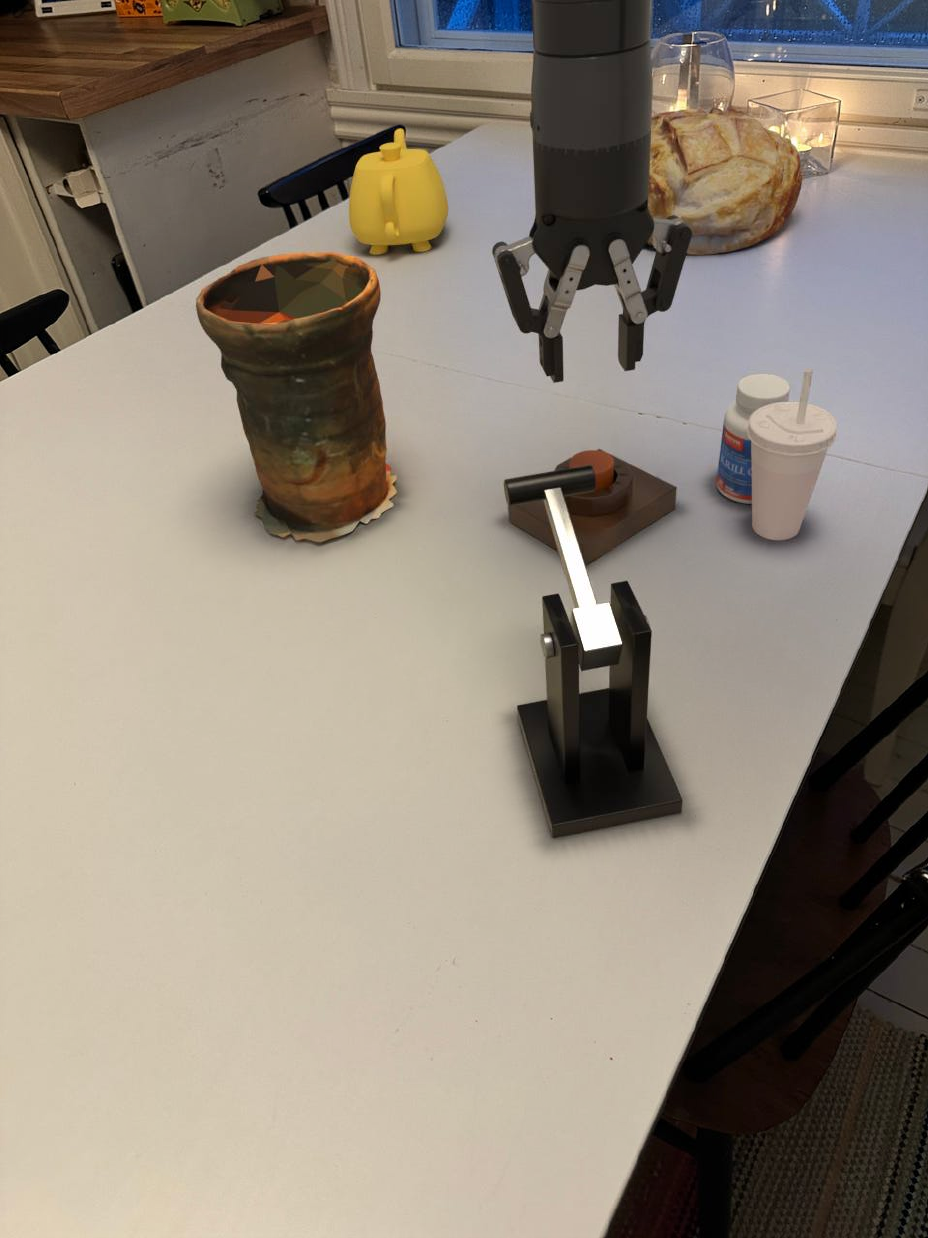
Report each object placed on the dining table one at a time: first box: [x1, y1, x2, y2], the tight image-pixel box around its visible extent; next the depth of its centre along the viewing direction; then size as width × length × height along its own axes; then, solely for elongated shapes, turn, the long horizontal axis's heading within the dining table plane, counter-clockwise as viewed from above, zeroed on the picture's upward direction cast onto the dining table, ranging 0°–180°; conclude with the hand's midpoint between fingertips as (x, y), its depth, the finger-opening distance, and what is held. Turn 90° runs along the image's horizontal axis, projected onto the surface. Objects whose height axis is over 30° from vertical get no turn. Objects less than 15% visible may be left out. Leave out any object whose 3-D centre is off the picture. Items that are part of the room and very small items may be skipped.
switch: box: [503, 465, 623, 672], centre depth 55 cm, size 13×6×2 cm, turn 10°
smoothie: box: [747, 368, 838, 541], centre depth 71 cm, size 6×6×14 cm
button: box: [570, 449, 614, 490], centre depth 76 cm, size 4×4×2 cm
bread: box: [646, 105, 803, 256], centre depth 122 cm, size 25×27×15 cm
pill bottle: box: [716, 373, 791, 505], centre depth 77 cm, size 6×5×10 cm
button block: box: [507, 448, 678, 566], centre depth 78 cm, size 11×9×4 cm
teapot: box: [348, 128, 449, 256], centre depth 129 cm, size 14×20×13 cm
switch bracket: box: [516, 580, 684, 838], centre depth 55 cm, size 10×8×13 cm
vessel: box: [195, 252, 398, 543], centre depth 78 cm, size 14×14×20 cm
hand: (591, 370), depth 70 cm, fingers open, 5 cm apart
